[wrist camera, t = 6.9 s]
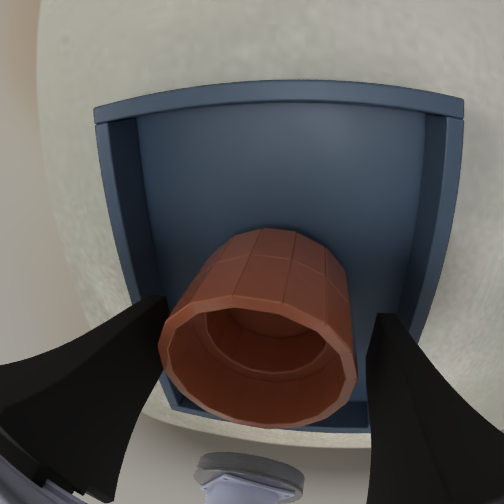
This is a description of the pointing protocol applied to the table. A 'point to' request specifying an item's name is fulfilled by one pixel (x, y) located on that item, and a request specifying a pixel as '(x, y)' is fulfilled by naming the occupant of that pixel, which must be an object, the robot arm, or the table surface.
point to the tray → (287, 192)
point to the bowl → (265, 332)
